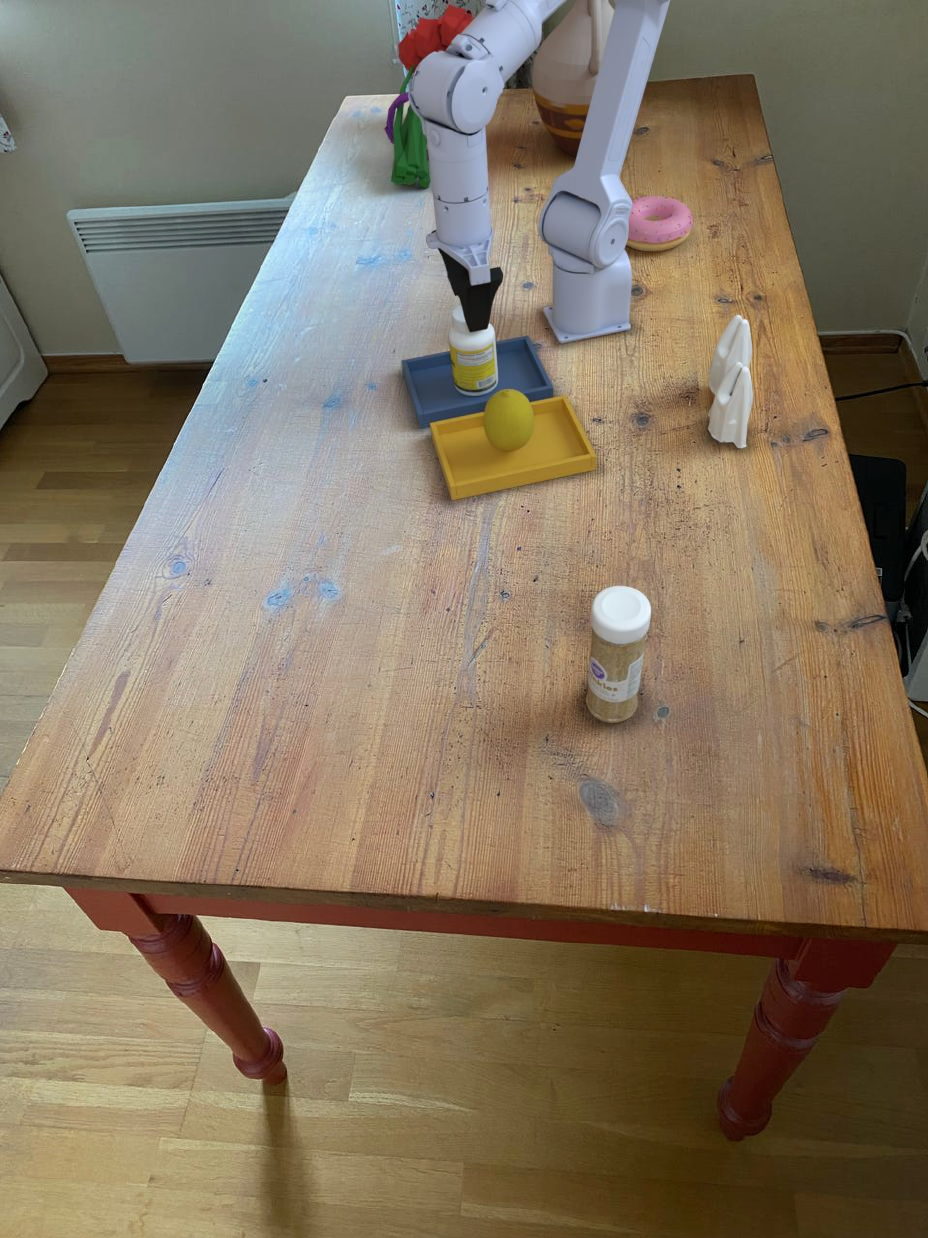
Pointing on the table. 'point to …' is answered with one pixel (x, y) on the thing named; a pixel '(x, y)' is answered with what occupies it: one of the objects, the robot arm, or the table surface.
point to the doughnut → (658, 223)
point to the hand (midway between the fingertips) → (470, 310)
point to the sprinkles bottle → (616, 652)
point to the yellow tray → (490, 469)
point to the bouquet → (411, 52)
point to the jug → (571, 71)
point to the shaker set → (731, 384)
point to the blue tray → (444, 401)
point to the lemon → (508, 420)
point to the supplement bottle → (472, 357)
